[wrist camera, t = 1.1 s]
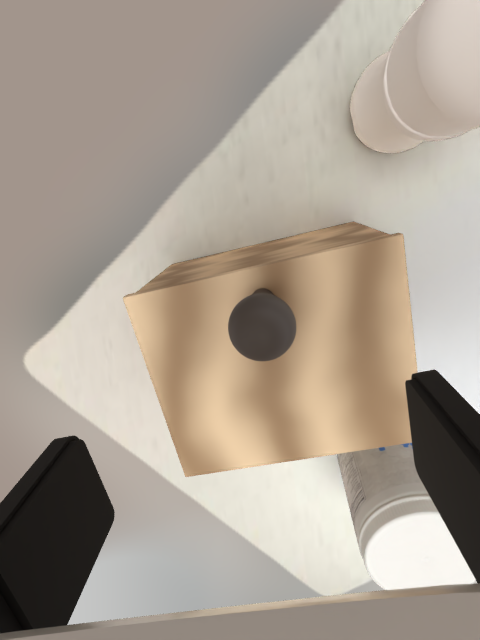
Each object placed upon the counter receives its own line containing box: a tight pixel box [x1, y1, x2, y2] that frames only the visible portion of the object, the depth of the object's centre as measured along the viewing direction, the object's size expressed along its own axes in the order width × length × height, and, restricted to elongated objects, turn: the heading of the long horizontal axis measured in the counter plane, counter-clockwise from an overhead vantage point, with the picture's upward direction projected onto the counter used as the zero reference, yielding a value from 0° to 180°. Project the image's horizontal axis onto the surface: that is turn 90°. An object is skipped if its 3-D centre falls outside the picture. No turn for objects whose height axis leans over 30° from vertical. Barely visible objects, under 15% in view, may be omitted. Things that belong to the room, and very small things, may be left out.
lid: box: [123, 233, 417, 477], centre depth 23 cm, size 18×15×8 cm
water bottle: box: [350, 0, 480, 153], centre depth 20 cm, size 7×7×25 cm
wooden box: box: [136, 222, 389, 293], centre depth 33 cm, size 18×15×12 cm
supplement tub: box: [337, 443, 476, 590], centre depth 36 cm, size 10×10×15 cm
